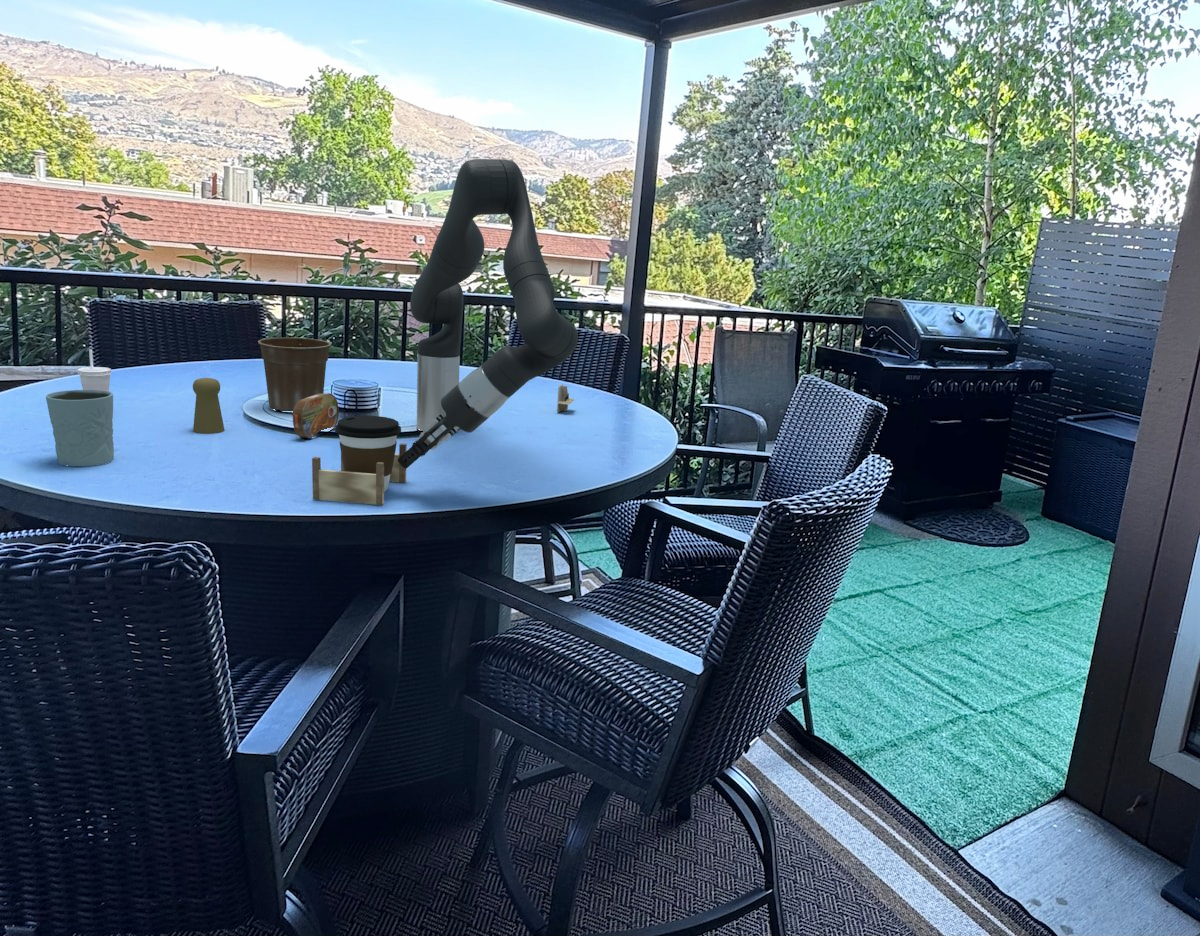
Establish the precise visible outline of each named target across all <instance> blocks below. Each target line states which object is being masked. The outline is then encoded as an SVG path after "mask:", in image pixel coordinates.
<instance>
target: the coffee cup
mask: <svg viewBox="0 0 1200 936" xmlns="http://www.w3.org/2000/svg"><path fill="white" fill-rule="evenodd" d="M334 433H336V434H337V435H338V436H339V447H340V455H341V454H342V460H343V466H344V471H347V472H359V473H371V474H376V463H378V462H383V463H384V491H385V492H387V490H388V488H389V486H390V482H389V480H390V474H391V473H392V468H393V462H394V456H395V454H396V451H397V450H396V448H397V437H398V435H400V434H402V426H400V425H399V421H398V420H396V419H394V418H391V417H387V416H377V415H355V416H352V415H351V416H348V417H343V418H340V419H338V422H337V424H336V427H335V428H334Z"/></svg>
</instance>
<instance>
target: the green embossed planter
mask: <svg viewBox="0 0 1200 936" xmlns="http://www.w3.org/2000/svg"><path fill="white" fill-rule="evenodd" d="M45 399H46V404H47V409H48V415H49V419H50V421H49V422H50V424H51V425H52V434H53V435H52V436H53V438H54V443H55V453H56V459H57V462H59V463H60V464H59V463H58V464H59V465H61V464H62V465H61V466H63V465H68V466H67V467H69V466H91V467H94V466H93V465H99V466H102V465H101V464H103V465H106V464H105V463H107V464H109V463H108V462H110V463H111V461H112V460H113V461H114V458H115V447H114V445H115V444H114V427H113V425H114V424H113V418H114V394H113V392H111V391H109V392H107V391H99V390H83V389H75V390H74V389H73V390H61V391H55V392H50V393H47V394H46V395H45ZM113 461H112V462H113Z"/></svg>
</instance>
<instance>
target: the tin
mask: <svg viewBox="0 0 1200 936" xmlns="http://www.w3.org/2000/svg"><path fill="white" fill-rule="evenodd" d="M339 409H340V407H339V403H338V400H337V398H336V397H335V395H334V394H332V393H324V394H316V395H313V396H311V397H308V398H304V399H301V400H299V401H298V402H297V403H296V405H295V407H294V409H293V413H292V425H293V430H294V432H295V435H297V436H298V437H299V438H303V439H310V438H312V437H314V436H316V434H317V433H318V432H319V431H321V430H324V429H327V428H331V427H336V425H337V423H338V421H339V414H340V413H339V412H340V411H339Z"/></svg>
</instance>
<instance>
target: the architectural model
mask: <svg viewBox="0 0 1200 936" xmlns="http://www.w3.org/2000/svg"><path fill="white" fill-rule="evenodd" d="M557 388H558V389H557V390H558V391H557V402H556V403H557V405H556V414H558V413H560V412H567V411H568V409H569V405H571V404H572V403H573V402H574V401H575V399H574V398H570V393H569V390H568V386H566V385H564V384H563V383H561V384H560V385H559V386H558V387H557Z"/></svg>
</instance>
